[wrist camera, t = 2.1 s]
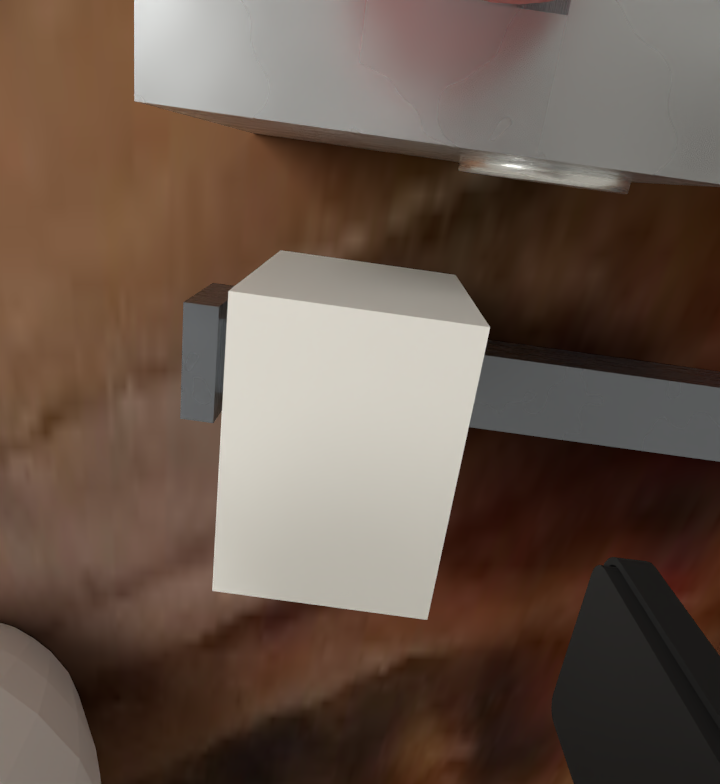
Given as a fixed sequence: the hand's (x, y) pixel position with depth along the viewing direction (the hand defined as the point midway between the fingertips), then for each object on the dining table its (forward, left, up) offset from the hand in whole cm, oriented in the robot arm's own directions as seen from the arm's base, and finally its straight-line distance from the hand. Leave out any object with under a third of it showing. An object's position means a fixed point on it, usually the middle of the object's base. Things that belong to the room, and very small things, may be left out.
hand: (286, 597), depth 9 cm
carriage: (0, 0, -12) cm, 12 cm away
